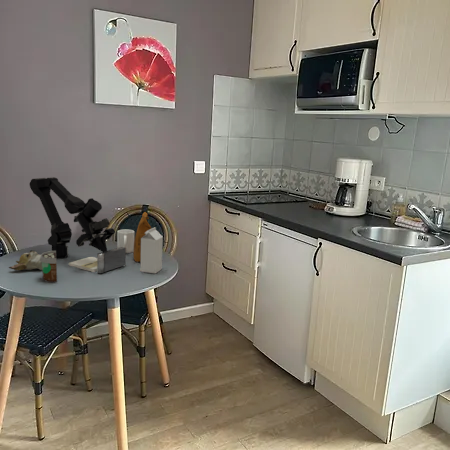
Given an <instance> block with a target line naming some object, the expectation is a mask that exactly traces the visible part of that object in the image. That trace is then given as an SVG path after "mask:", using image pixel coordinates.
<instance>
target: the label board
mask: <svg viewBox="0 0 450 450" xmlns="http://www.w3.org/2000/svg"><path fill="white" fill-rule="evenodd" d="M68 266H70V267H73V268H76V269H81V270H84V271H87V272H92V273H95V272H97V257H95V256H88V257H85V258H84V257H83V258H81V259H78V260H73V261H70V262H68Z"/></svg>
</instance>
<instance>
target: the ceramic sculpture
mask: <svg viewBox="0 0 450 450" xmlns="http://www.w3.org/2000/svg"><path fill="white" fill-rule="evenodd" d="M40 256H41V254H40V253H39V254H38V252H37V251H35V250H32V249H31V250H29V252H24V253H23V254H22V255H20V257H19V260H15V263H16V264H14V265H12V266H8V268H9V269H11V270H14V271H23V270H25V271H32V270H35V269H38V270H39V271H43V269H42V262H41V261H40Z"/></svg>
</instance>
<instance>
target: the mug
mask: <svg viewBox="0 0 450 450" xmlns="http://www.w3.org/2000/svg"><path fill="white" fill-rule="evenodd" d="M116 234H117V236H116V237H117V238H116V239H117V242H116V243H117V244H116V245H117V246H116V247H117V248H119V247H124V248H126V254H131V253H133V250H134V239H135V231H134V230H133V229H128V228H127V229H125V228H124V229H119V230H117V232H116Z"/></svg>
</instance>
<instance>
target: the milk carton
mask: <svg viewBox="0 0 450 450" xmlns="http://www.w3.org/2000/svg"><path fill="white" fill-rule="evenodd" d="M151 228H152V229H150V230H148V231H146V232H145V234H146V235H145V236H143V237H142V238H141V261H140V269H139V270H140V272H142V273H149V274H157V273H158V272H160V271H162V267H163V243H164V242H163V238H164V237H163V235H162V234H160V232H159V231H158V230H157V229H156V226H155V227H151Z"/></svg>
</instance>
